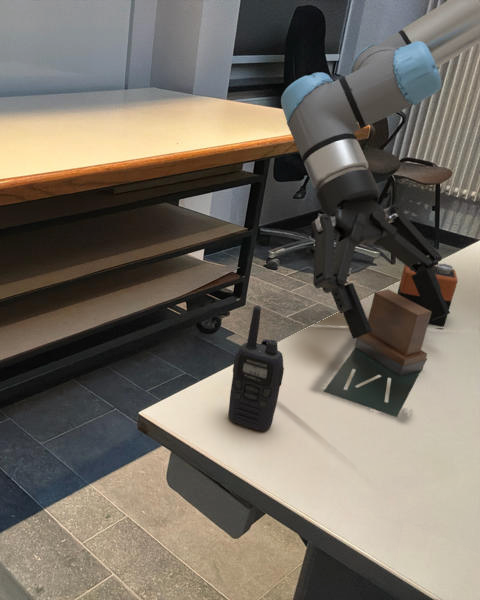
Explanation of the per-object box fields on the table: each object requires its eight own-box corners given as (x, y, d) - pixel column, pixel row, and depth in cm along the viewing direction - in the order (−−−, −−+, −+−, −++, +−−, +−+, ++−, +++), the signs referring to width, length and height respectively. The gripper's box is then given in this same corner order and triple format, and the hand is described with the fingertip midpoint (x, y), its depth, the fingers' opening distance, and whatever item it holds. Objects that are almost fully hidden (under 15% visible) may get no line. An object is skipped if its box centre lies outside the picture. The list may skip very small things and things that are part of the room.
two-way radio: (222, 421, 79) (238, 307, 72) (234, 402, 82) (251, 291, 76) (268, 437, 76) (290, 320, 70) (279, 417, 80) (301, 304, 73)
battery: (441, 336, 99) (460, 274, 94) (391, 327, 101) (407, 265, 96) (439, 323, 102) (457, 262, 98) (391, 314, 104) (406, 255, 100)
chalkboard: (356, 342, 96) (358, 335, 96) (431, 365, 91) (434, 357, 91) (314, 399, 83) (315, 391, 83) (399, 430, 78) (401, 422, 78)
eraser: (354, 346, 93) (367, 291, 89) (375, 341, 94) (389, 286, 91) (400, 376, 86) (416, 317, 83) (422, 370, 88) (439, 312, 84)
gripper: (390, 185, 101) (448, 318, 95) (253, 203, 91) (308, 351, 86) (428, 159, 94) (493, 300, 88) (284, 175, 85) (347, 334, 79)
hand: (402, 326), depth 87 cm, fingers open, 13 cm apart
